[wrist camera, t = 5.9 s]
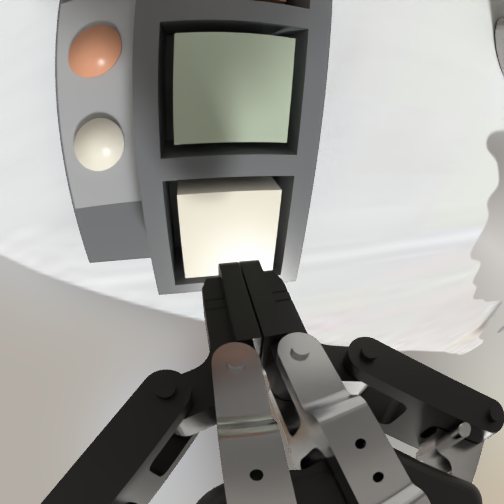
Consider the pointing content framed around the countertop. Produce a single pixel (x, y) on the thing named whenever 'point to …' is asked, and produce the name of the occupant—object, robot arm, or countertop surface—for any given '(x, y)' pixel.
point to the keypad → (162, 127)
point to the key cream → (227, 222)
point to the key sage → (231, 87)
